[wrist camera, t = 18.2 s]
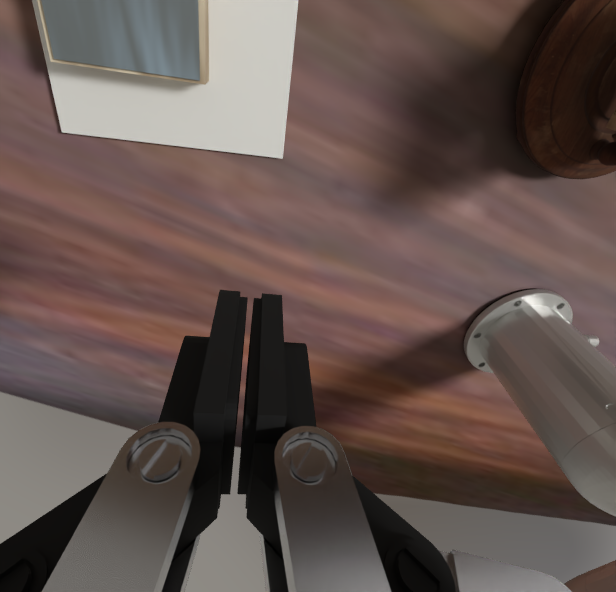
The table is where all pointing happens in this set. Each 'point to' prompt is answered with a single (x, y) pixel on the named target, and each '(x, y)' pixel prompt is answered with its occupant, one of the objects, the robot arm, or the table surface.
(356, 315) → the table surface
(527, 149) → the brown wooden ornament
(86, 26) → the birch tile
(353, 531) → the robot arm
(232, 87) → the rubber mat
